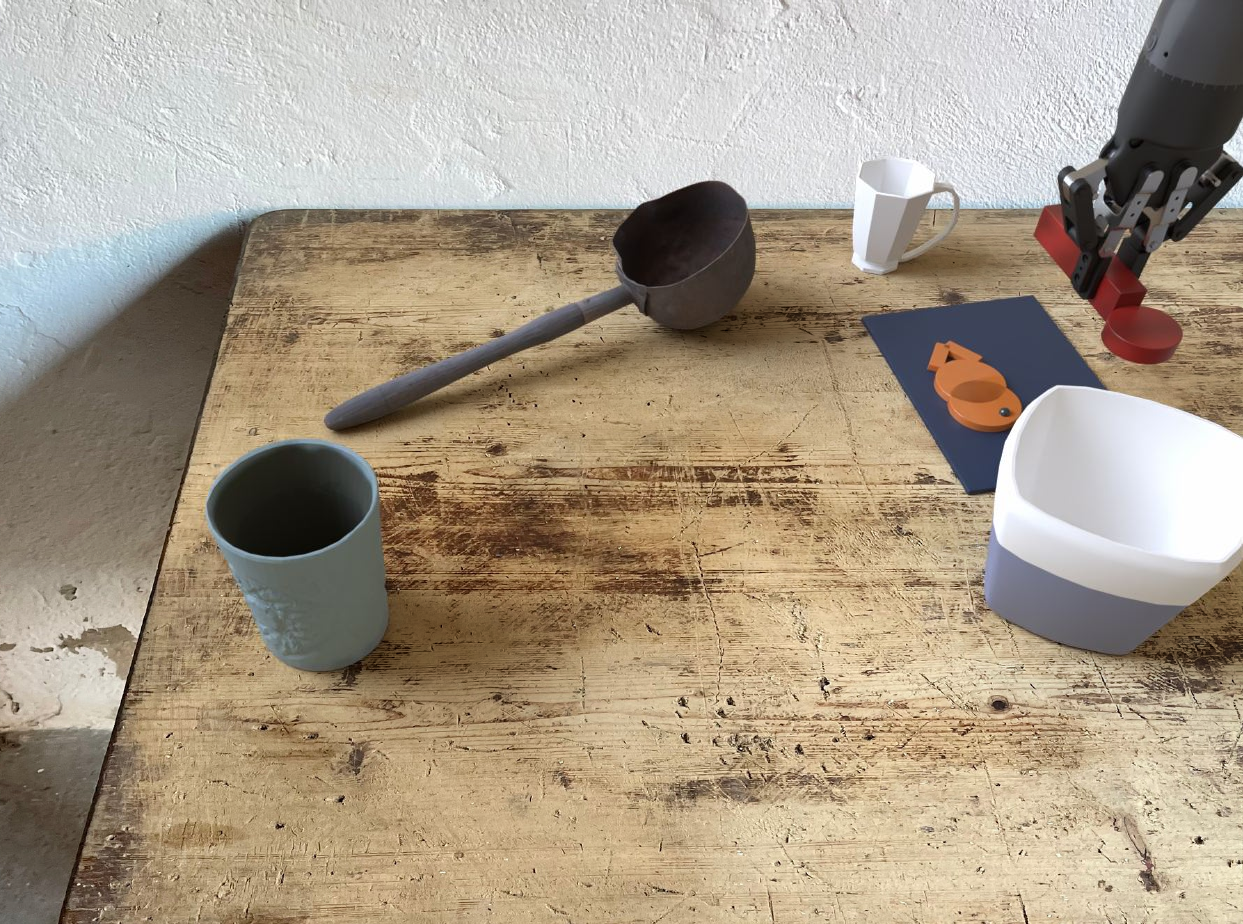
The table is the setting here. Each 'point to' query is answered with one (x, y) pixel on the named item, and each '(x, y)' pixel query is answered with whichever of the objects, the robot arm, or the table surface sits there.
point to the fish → (973, 389)
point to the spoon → (1115, 300)
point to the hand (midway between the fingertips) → (1099, 290)
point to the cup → (893, 212)
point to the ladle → (616, 289)
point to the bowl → (1111, 517)
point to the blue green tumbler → (305, 549)
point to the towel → (1007, 342)
